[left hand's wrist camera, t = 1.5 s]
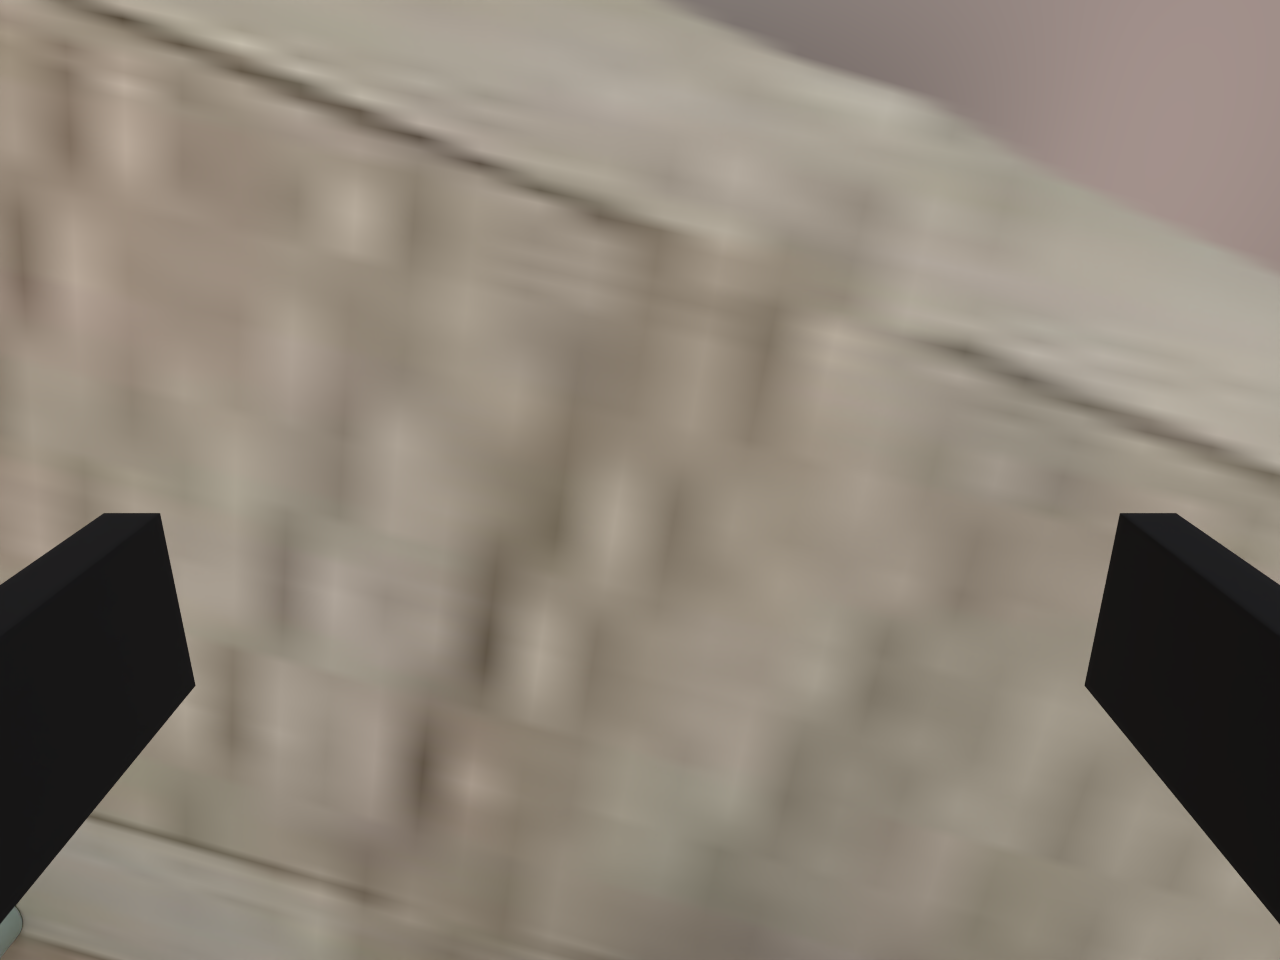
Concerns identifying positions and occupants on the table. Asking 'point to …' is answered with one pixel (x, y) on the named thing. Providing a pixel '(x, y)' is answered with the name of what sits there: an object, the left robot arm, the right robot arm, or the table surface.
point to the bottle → (9, 929)
